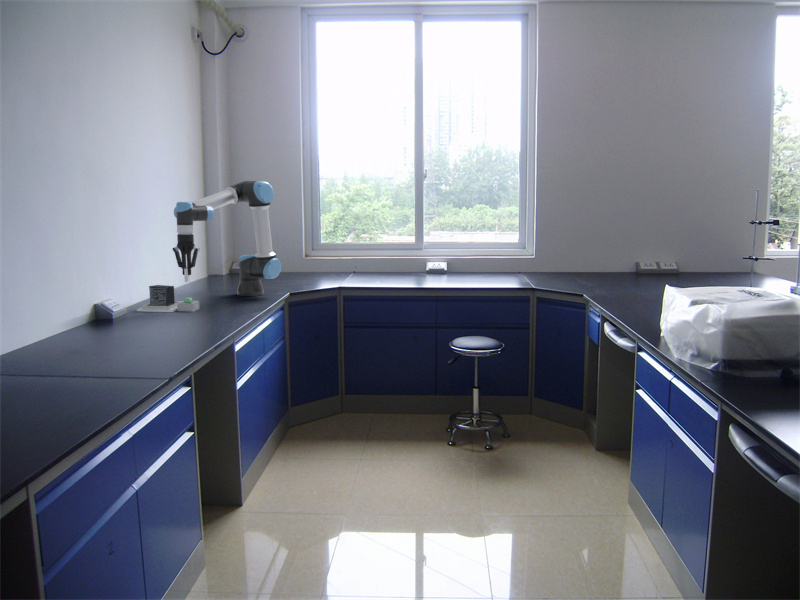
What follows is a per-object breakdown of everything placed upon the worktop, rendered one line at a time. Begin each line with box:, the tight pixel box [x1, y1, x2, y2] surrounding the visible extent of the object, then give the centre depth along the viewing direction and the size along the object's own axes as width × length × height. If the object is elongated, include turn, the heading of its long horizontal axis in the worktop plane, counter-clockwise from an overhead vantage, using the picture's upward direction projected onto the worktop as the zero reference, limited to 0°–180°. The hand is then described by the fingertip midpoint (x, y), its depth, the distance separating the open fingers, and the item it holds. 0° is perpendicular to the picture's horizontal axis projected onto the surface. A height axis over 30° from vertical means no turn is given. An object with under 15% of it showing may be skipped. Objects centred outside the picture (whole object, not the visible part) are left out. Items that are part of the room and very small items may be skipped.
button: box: [183, 297, 193, 303], centre depth 309 cm, size 4×4×4 cm
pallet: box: [136, 300, 182, 313], centre depth 313 cm, size 18×18×2 cm
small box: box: [148, 284, 176, 306], centre depth 312 cm, size 11×6×10 cm, turn 72°
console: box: [177, 299, 200, 313], centre depth 310 cm, size 8×8×4 cm
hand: (187, 281), depth 308 cm, fingers closed
